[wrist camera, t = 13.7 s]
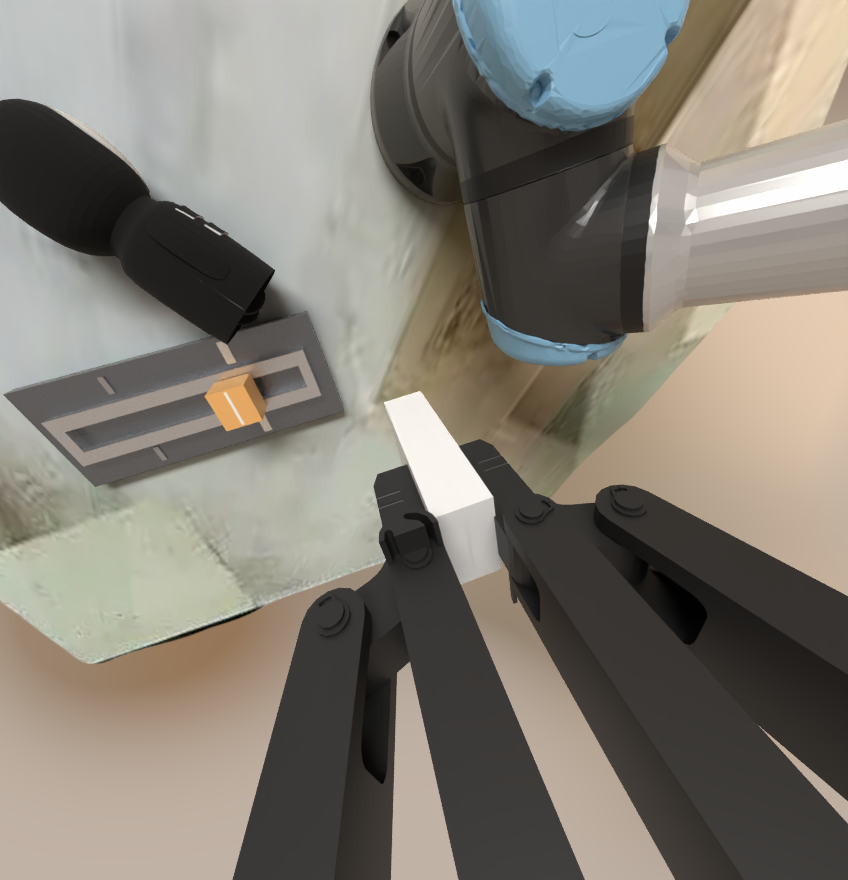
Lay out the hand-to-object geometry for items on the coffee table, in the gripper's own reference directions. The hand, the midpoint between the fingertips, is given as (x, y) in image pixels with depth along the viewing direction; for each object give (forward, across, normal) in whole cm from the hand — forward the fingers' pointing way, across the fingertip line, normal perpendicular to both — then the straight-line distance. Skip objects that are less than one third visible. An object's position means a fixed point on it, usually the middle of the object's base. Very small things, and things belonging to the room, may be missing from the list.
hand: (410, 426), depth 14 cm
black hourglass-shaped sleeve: (+33, -15, +10) cm, 38 cm away
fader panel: (+32, -21, -6) cm, 39 cm away
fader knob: (+31, -15, -6) cm, 35 cm away
